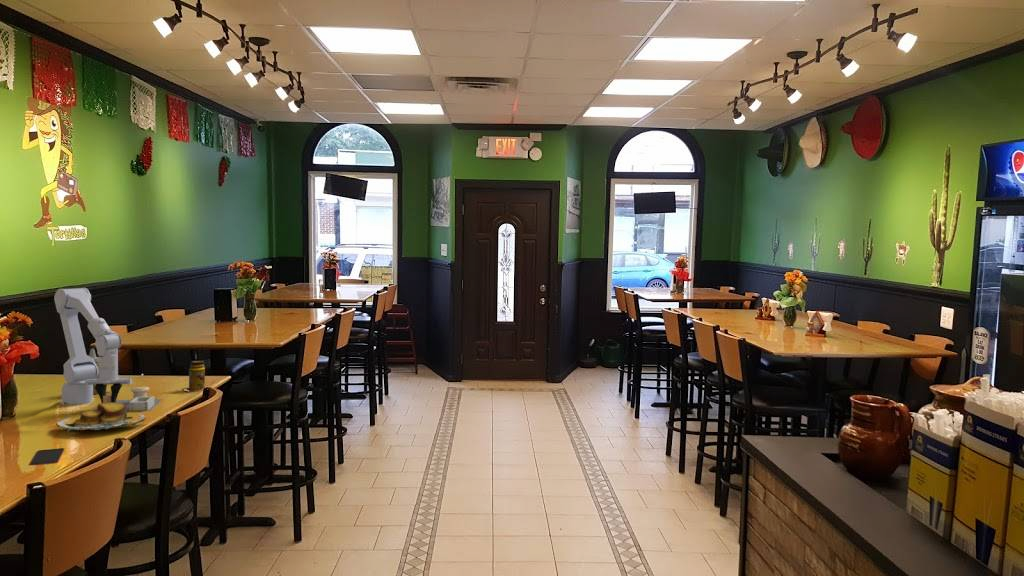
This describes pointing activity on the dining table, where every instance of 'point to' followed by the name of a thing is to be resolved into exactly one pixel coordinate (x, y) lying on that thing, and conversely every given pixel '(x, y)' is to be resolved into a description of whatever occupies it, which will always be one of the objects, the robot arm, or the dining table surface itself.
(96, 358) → the squeeze bottle
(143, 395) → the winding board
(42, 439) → the dining table surface
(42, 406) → the dining table surface
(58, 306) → the robot arm
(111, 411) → the food on plate
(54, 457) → the smartphone
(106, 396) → the tan small block
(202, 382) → the condiment
